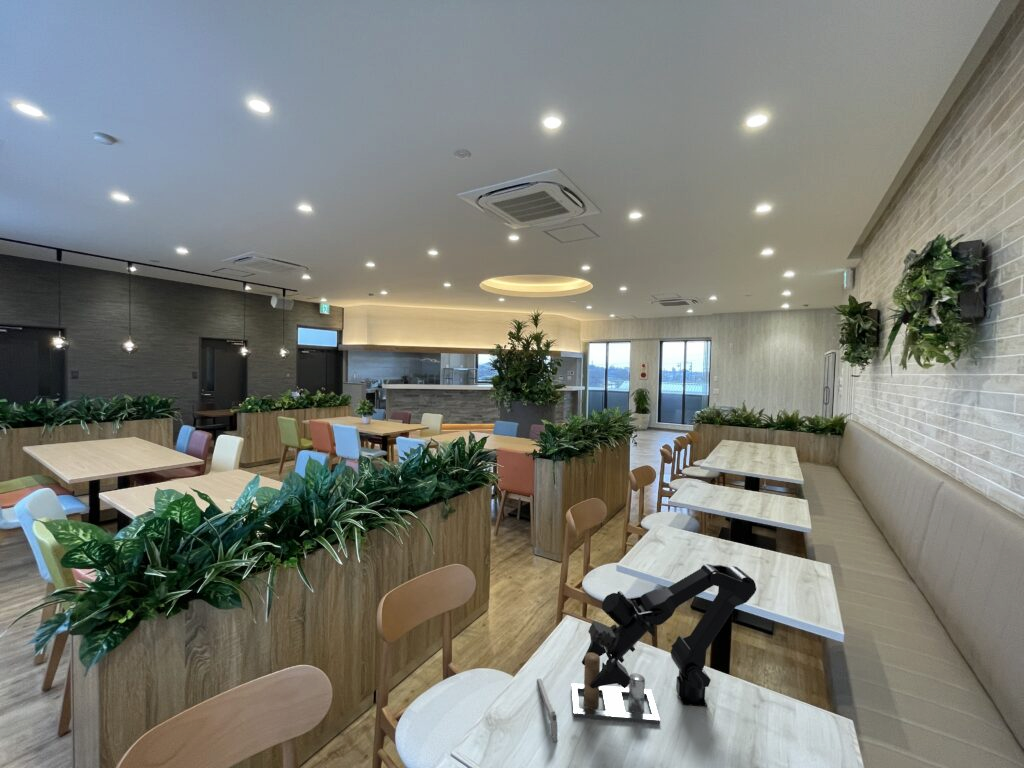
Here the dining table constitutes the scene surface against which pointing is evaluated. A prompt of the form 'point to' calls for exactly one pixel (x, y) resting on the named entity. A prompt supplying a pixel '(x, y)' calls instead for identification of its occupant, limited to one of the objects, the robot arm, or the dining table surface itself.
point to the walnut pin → (589, 674)
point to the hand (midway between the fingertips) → (586, 674)
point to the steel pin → (636, 693)
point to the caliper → (549, 710)
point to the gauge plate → (614, 706)
